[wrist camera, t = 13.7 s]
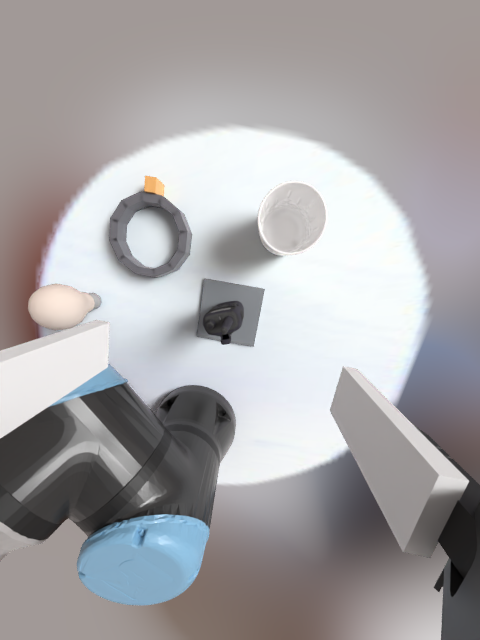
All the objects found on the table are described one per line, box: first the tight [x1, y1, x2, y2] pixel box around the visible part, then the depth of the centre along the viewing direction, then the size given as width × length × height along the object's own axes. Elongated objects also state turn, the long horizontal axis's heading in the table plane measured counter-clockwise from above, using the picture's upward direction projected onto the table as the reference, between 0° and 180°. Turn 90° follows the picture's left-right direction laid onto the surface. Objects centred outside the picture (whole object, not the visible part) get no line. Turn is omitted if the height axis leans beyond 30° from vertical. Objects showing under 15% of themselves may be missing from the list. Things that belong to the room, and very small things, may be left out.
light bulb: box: [28, 284, 101, 330], centre depth 34 cm, size 7×7×11 cm
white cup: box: [258, 181, 328, 256], centre depth 31 cm, size 8×8×10 cm
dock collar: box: [109, 176, 192, 277], centre depth 35 cm, size 14×12×3 cm
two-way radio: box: [203, 301, 244, 345], centre depth 31 cm, size 6×4×15 cm
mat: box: [197, 279, 265, 347], centre depth 38 cm, size 10×10×1 cm
